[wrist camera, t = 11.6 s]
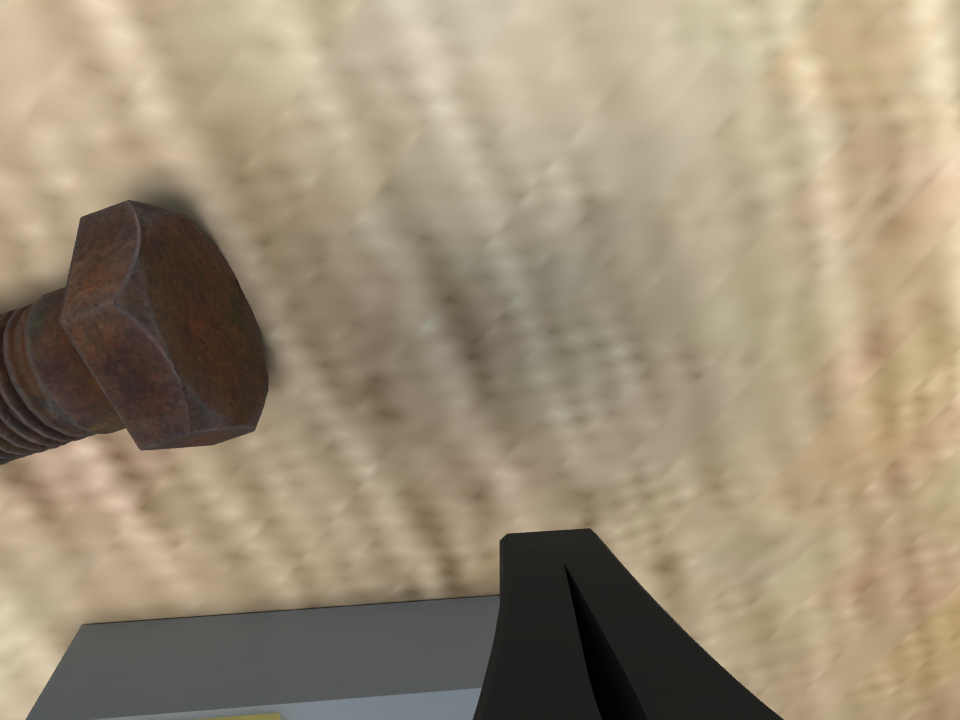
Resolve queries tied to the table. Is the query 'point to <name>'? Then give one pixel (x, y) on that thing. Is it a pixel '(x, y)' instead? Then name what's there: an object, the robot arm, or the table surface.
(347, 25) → the table surface
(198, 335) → the bolt
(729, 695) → the robot arm
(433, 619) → the grey compartment tray
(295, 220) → the table surface
